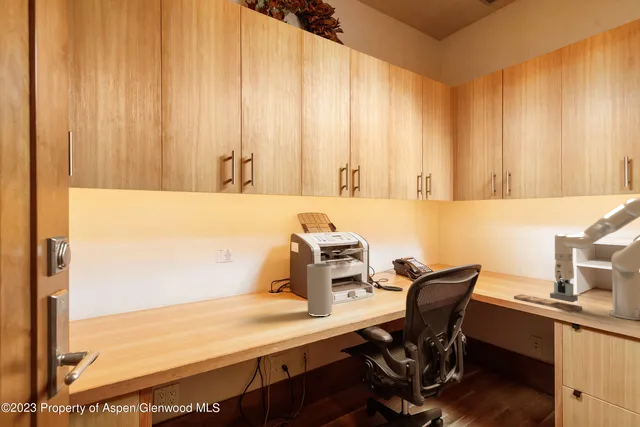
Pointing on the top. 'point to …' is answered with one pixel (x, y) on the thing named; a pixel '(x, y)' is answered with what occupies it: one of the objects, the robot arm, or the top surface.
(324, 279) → the cylinder vase
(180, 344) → the top surface
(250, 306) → the top surface
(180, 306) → the top surface
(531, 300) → the walnut plank
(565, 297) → the sanding block
